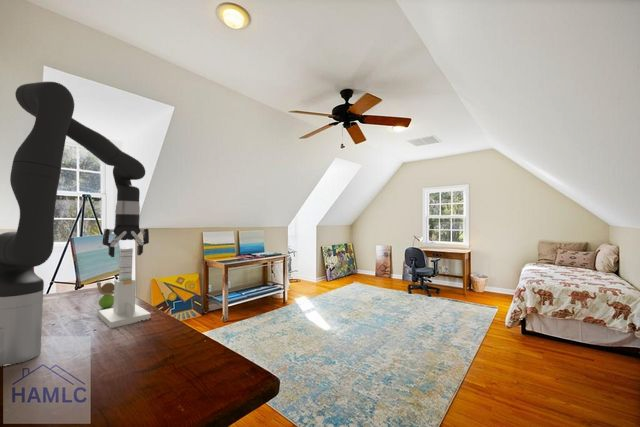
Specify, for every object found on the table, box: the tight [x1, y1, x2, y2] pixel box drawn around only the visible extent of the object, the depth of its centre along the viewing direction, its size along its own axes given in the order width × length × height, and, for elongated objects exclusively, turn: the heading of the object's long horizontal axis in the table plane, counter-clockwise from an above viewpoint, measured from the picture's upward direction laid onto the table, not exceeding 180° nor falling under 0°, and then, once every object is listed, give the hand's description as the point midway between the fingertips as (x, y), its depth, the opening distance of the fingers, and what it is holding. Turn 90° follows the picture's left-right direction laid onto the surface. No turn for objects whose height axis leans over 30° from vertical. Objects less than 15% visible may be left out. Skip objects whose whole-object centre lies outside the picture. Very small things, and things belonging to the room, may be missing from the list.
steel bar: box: [118, 247, 134, 281], centre depth 102 cm, size 3×3×17 cm
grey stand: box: [97, 277, 152, 329], centre depth 102 cm, size 18×12×14 cm, turn 50°
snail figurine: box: [96, 279, 114, 309], centre depth 112 cm, size 5×6×12 cm
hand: (126, 256), depth 102 cm, fingers open, 8 cm apart
